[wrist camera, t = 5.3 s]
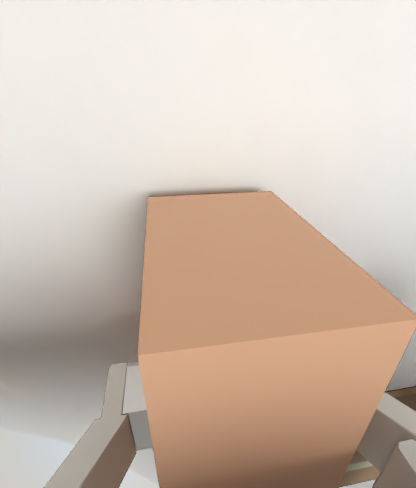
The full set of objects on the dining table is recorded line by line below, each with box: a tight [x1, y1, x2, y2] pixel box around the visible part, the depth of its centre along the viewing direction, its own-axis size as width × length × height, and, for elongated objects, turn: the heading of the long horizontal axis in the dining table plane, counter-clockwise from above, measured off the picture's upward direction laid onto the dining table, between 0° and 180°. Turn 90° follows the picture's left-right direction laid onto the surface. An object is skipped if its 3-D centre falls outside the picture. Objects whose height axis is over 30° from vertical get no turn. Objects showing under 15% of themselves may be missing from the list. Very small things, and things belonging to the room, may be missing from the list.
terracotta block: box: [138, 191, 416, 488], centre depth 9 cm, size 4×10×6 cm, turn 0°
